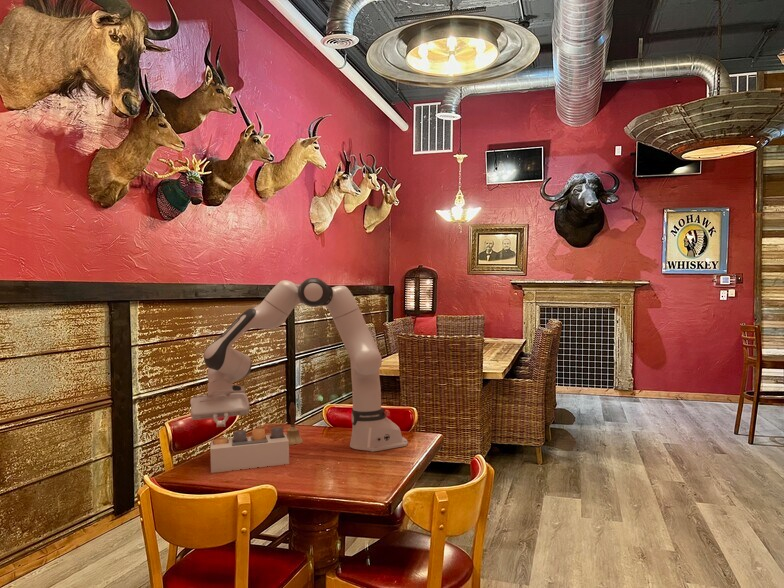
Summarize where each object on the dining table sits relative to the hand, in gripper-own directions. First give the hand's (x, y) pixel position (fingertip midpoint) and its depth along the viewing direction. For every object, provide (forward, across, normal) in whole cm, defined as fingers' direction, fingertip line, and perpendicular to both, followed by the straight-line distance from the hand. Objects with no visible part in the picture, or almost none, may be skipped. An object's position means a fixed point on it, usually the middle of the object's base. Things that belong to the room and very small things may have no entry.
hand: (221, 426), depth 191 cm
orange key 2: (+6, +13, +7) cm, 16 cm away
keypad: (+11, +9, +8) cm, 17 cm away
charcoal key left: (+7, +19, +7) cm, 21 cm away
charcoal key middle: (+6, +6, +6) cm, 11 cm away
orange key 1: (+8, 0, +8) cm, 11 cm away
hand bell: (-4, +27, +24) cm, 36 cm away
